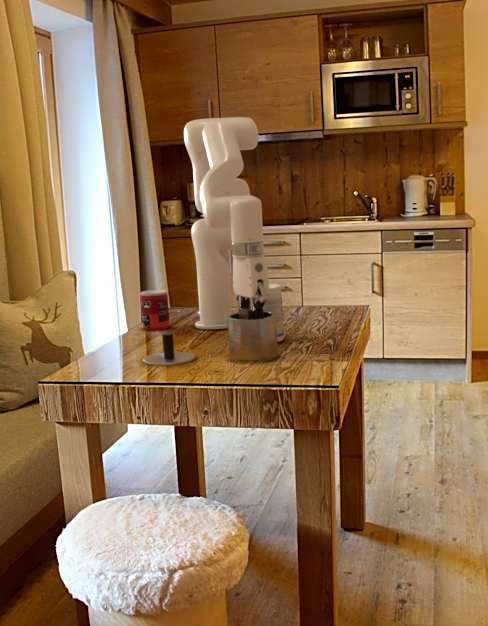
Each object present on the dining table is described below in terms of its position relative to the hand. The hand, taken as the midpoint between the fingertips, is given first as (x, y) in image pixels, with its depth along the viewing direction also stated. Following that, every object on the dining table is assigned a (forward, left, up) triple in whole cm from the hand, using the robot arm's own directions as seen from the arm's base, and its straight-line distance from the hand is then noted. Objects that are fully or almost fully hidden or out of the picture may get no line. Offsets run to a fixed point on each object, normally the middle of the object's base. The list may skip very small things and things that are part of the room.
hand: (251, 324), depth 200 cm
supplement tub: (-14, +12, -9) cm, 20 cm away
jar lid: (-10, -18, -8) cm, 22 cm away
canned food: (-52, -3, -8) cm, 53 cm away
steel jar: (0, 0, -8) cm, 8 cm away
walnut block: (0, 0, 0) cm, 0 cm away
